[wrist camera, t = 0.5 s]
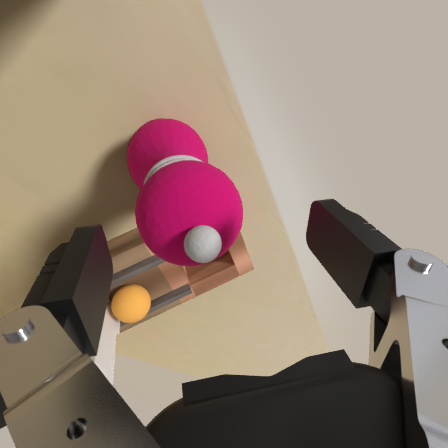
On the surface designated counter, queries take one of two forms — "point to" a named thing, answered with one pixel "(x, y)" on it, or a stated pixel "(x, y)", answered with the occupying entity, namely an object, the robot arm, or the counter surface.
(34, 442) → the robot arm
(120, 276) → the launcher track
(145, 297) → the ball
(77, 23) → the counter surface
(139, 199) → the pepper mill
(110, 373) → the launcher plunger
